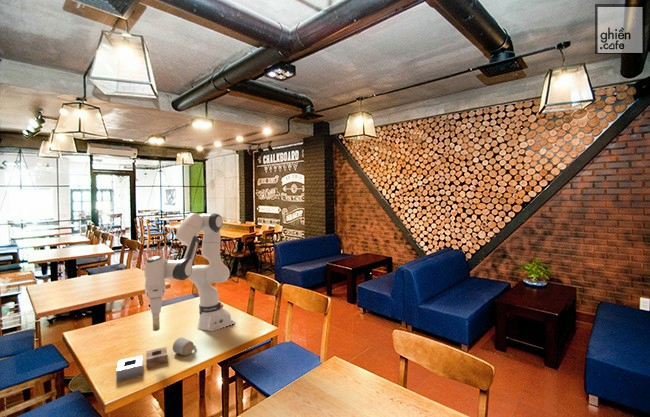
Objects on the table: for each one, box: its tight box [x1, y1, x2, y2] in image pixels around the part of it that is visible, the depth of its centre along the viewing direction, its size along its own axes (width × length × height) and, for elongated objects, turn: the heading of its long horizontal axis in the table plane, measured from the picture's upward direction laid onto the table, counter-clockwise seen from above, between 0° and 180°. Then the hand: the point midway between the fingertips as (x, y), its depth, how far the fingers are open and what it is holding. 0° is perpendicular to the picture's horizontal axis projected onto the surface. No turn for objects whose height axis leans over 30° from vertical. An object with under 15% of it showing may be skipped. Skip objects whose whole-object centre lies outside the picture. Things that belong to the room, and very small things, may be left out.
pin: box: [151, 313, 161, 332], centre depth 152 cm, size 4×4×10 cm
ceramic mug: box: [172, 337, 197, 356], centre depth 162 cm, size 11×8×8 cm
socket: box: [115, 355, 144, 383], centre depth 143 cm, size 10×10×5 cm
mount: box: [145, 346, 168, 368], centre depth 153 cm, size 9×9×4 cm
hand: (156, 316), depth 152 cm, fingers closed on pin, 3 cm apart
